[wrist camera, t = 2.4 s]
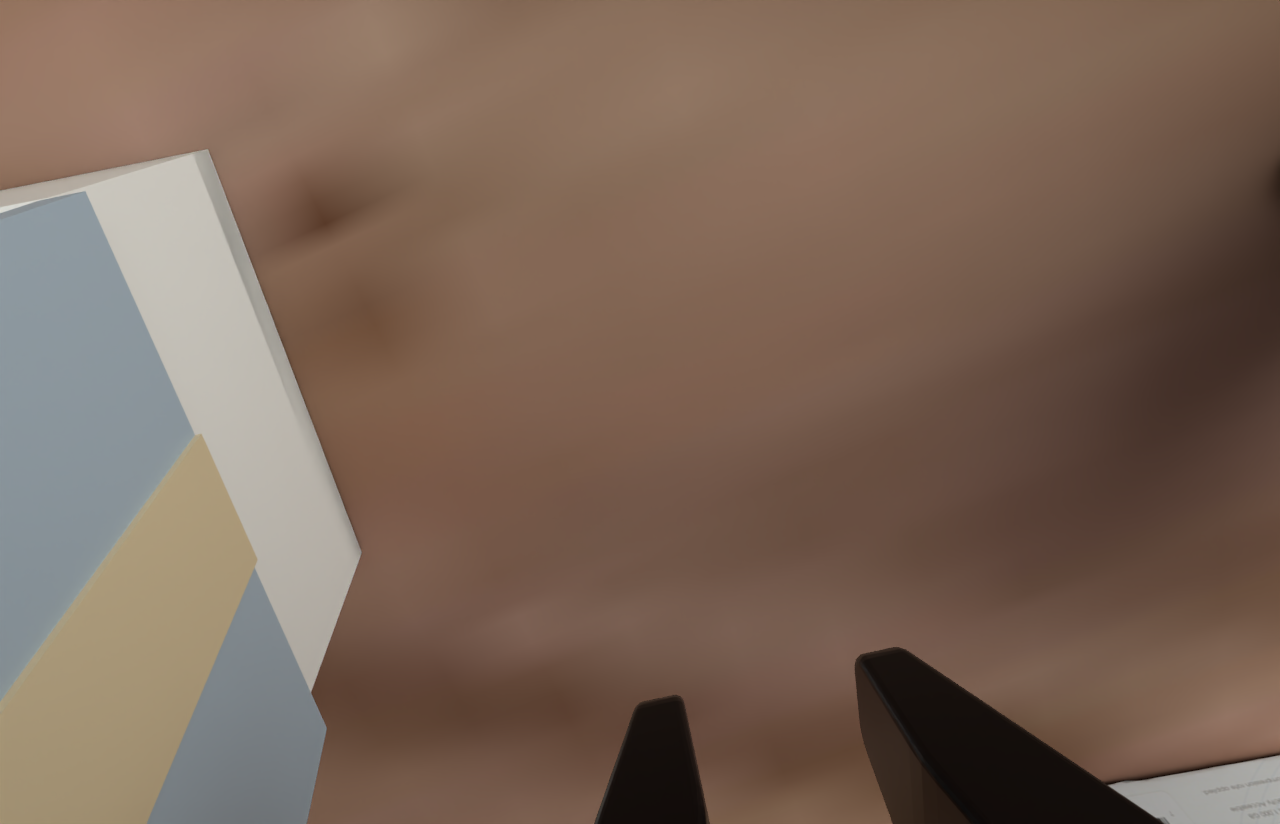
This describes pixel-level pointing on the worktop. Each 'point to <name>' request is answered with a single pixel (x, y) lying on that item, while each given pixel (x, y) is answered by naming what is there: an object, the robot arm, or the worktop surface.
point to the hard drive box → (1212, 794)
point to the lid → (125, 570)
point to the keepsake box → (228, 378)
